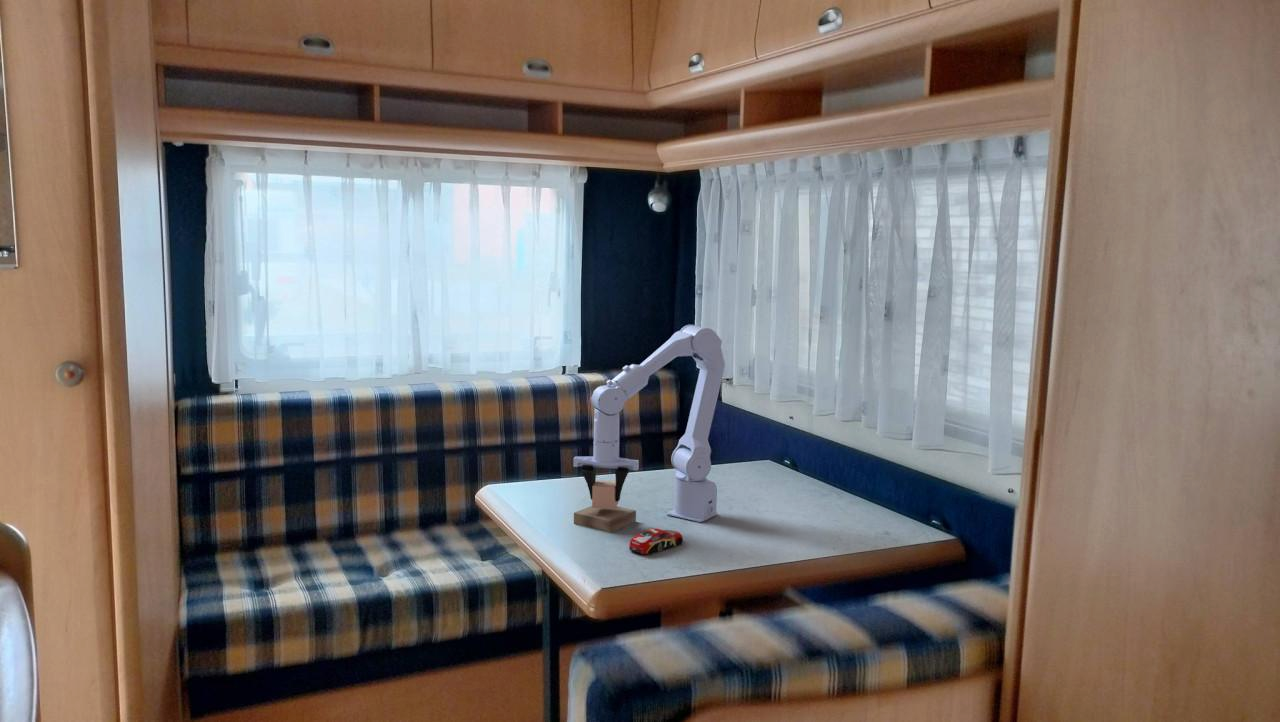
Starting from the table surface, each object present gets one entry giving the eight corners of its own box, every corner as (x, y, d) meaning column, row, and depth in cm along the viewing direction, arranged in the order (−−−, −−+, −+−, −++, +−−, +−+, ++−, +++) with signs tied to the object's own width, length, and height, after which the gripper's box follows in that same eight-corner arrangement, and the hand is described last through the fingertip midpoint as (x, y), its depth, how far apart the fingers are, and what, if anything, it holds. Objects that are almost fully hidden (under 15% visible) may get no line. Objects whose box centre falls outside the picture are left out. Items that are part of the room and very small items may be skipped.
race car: (669, 538, 199) (670, 520, 199) (687, 545, 196) (688, 526, 195) (624, 551, 190) (624, 532, 190) (642, 558, 186) (643, 539, 186)
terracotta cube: (618, 503, 210) (618, 481, 209) (614, 509, 205) (614, 487, 204) (596, 501, 211) (597, 480, 210) (592, 507, 206) (592, 486, 205)
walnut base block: (635, 523, 210) (636, 510, 209) (609, 534, 202) (609, 521, 201) (600, 515, 215) (600, 502, 215) (573, 525, 207) (573, 512, 207)
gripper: (641, 438, 209) (640, 496, 210) (578, 434, 211) (577, 492, 213) (636, 444, 202) (634, 505, 204) (571, 441, 204) (570, 500, 206)
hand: (605, 499), depth 208 cm, fingers closed on terracotta cube, 5 cm apart
